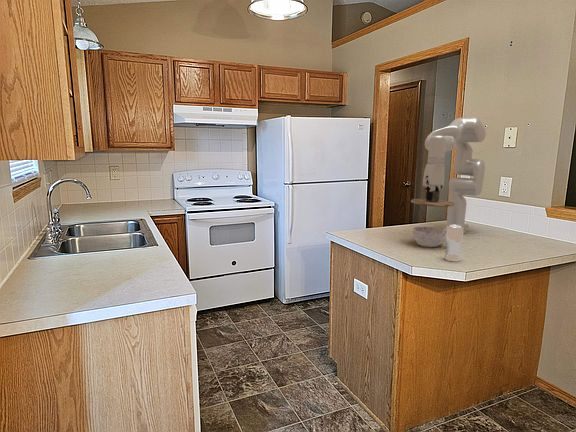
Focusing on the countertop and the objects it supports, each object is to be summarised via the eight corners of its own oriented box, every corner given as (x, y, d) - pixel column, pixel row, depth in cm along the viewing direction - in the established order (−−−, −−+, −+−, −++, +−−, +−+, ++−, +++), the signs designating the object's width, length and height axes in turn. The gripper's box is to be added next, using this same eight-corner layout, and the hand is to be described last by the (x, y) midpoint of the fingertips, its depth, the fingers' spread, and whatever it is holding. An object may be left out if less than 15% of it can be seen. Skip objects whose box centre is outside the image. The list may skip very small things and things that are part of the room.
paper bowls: (430, 250, 182) (431, 234, 181) (405, 243, 195) (406, 228, 194) (450, 246, 190) (452, 231, 189) (425, 240, 203) (426, 225, 202)
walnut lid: (430, 199, 202) (431, 188, 201) (463, 205, 185) (464, 193, 184) (402, 201, 193) (403, 189, 192) (433, 207, 176) (434, 194, 175)
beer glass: (452, 262, 164) (456, 228, 161) (439, 258, 170) (443, 225, 167) (463, 260, 167) (467, 227, 164) (450, 256, 173) (454, 223, 170)
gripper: (441, 161, 192) (438, 197, 196) (417, 161, 185) (414, 199, 188) (454, 162, 186) (450, 199, 189) (429, 162, 178) (425, 201, 181)
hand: (432, 199), depth 189 cm, fingers closed on walnut lid, 4 cm apart
